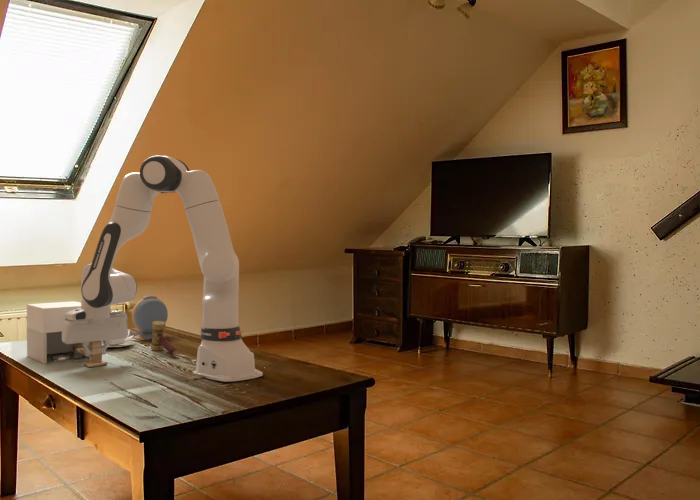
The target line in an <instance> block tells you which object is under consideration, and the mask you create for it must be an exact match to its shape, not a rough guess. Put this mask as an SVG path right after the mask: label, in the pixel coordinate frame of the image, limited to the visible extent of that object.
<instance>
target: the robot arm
mask: <svg viewBox="0 0 700 500" xmlns="http://www.w3.org/2000/svg"><path fill="white" fill-rule="evenodd" d="M169 193H177V194H178V195H179V196H180V199H181V201H182V204H183V207H184V211H185V215H186V217H187V220H188V224H189V227H190V230H191V235H192V239H193V243H194V246H195V247H194V248H195V251H196V255H197V259H198V264H199V267H200V272H201V273H202V275H203V291H202V306H201V307H202V308H201V309H202V311H201V312H202V318H201V319H202V326H201V327H200V338H201V343H200V345H199V346H198V347H197V355H196V365H195V370H194V371H192V374H193V375H197V376H201V377H202V378H203V379H204V378H205V379H209V380H213V381H220V382H225V383H228V382H239V381H245V380H251V379H256V378H259V377H262V376H264V375H263V372H264V371H263V372H262V371H260V370H258V368H257V369H256V365H255V363H256V362H255V353H254V352H253V351H251V350H250V349H249V347H248V346H247V345H246V344H245V343H244V342H243V340H242V339H243V332H244V331H243V330H241V328H240V325H239V287H240V286H239V285H240V284H239V283H240V260H239V258H238V255H237V254H236V252H235V249H234V245H233V242H232V238H231V235H230V234H231V233H230V230H229V228H228V224H227V223H228V222H227V220H226V217H225V212H224V209H223V206H222V203H221V200H220V196H219V193H218V191H217V188H216V186H215V184H214V182H213V180H212V178H211V176H210V174H209V172H207V171H205V170H203V169H191V170H190V169H189V166H188V165H187V164H186V163H184V162H183V161H182V160H180V159H177V158H174V157H172V156H167V155H152V156H150V157H148V158H146V159H145V160H144V161H143V162H142V164H141V165H140V168H139V172H130V173H127V174H126V175H125V176H123V178H122V181H121V182H120V186H119V189H118V191H117V195H116V199H115V203H114V208H113V211H112V214H111V217H110V218H109V221H108V223H107V224H106V225H105V227H104V228H103V229H102V232H101V234H100V237H99V239H98V243H97V245H96V249H95V252H94V255H93V259H92V262H90V263H87V264H85V265H84V266H83V268H82V271H81V278H80V279H81V280H80V291H81V292H80V293H81V296H82V298H81V302H80V303H81V307H79V308H77V309H74V310H72V311H69V312H66V313H65V318H66V319H68V320H66V321H65V322H64V324H63V328H62V341H63V342H64V343H65V344H76V343H82V346H83V348H84V349H85V350H86V356H92V350H89V349H88V347H87V346H88V345H89V342H96V341H103V343H104V345H103V346H102V356H103V355H106V353H107V348H109V347H108V345H109V340H116V339H125V338H126V337H127V336H128V330H129V329H128V314H127V312H126V311H123V310H111V306H112V305H118V304H123V303H126V302H127V303H128V302H130V301H132V300H133V299H135V296H136V294H137V292H138V291H137V289H138V285H137V281H136V279H135V278H134V276H133V275H132V274H130V273H125V272H123V271H120V270H117V269H115V268H114V264H115V261H116V257H117V255H118V251H119V250H120V249H121V247H122V246H123V245H125V244H126V243H127V242H128V241H131V240H133V239H134V238H136V237H139V236H140V235H142V234H143V233H144V232H145V231H146V230H147V229H148V227H149V224H150V221H151V216H152V210H153V206H154V202H155V199H156V197H157V196H158V195H159V194H169ZM128 337H129V336H128ZM128 337H127V338H128ZM86 356H85V357H86Z"/></svg>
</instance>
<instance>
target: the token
mask: <svg viewBox="0 0 700 500" xmlns="http://www.w3.org/2000/svg"><path fill="white" fill-rule="evenodd" d="M52 360H53V361H56V362H57V361H68V360H70V355H67V354H63V355H62V354H60V355H54V356H53V357H52Z"/></svg>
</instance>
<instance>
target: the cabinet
mask: <svg viewBox="0 0 700 500" xmlns="http://www.w3.org/2000/svg"><path fill="white" fill-rule="evenodd" d="M79 307H81V302H79V301H58V302H42V303H28V304H26V356H27V357H28V358H31V359H33V360H35V361H37V362H39V363H41V364H43V365H44V364H47V363H48V362H47V361H48V359H47V357H48V356H47V355H52V354H54V355H55V354H60V353H61V354H63V353H71V352H70V351H72V352H73V348H75V347H82V348H83V346H82V343H76V344H65V343H64V342H63V341H62V328H63V324H64V322H65V321H66V320H68V319H66V318H65V313H66V312H69V311H72V310H74V309H77V308H79ZM87 347H88V349H89V350H90V342H89V345H88V346H87ZM83 356H84V357H86V358H89V359H90V356H86V355H85V354H82V357H83Z"/></svg>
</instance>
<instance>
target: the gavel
mask: <svg viewBox="0 0 700 500" xmlns="http://www.w3.org/2000/svg"><path fill="white" fill-rule="evenodd" d="M166 324H167V322H166V323H165V322H163V321H154V322H153V323H152V328H153V335H152V339H151V343H150V349H151V350H153V351H156V352H157V351H162V350H164V349H165V350H166V351H167V352H168V353H169V354H170V355H171V356H174V357H178V355H179V354H178V353H179V352H178V350H177V348H176V347H175V346H174V345H173V344H172V343H171V342H170V341H169V340H168V339H167V337H164V336H165V329H166Z"/></svg>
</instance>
